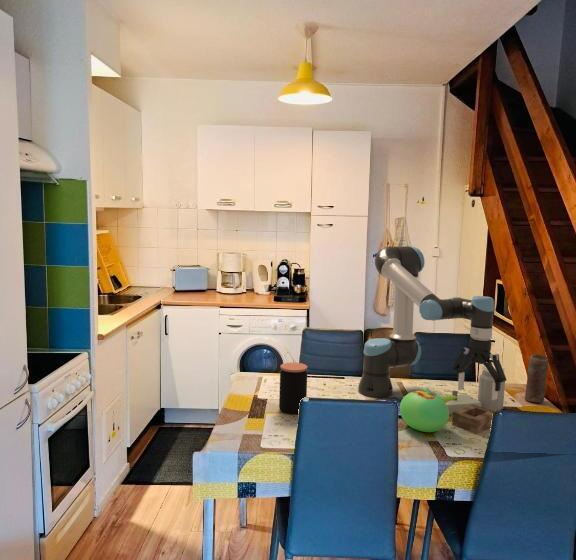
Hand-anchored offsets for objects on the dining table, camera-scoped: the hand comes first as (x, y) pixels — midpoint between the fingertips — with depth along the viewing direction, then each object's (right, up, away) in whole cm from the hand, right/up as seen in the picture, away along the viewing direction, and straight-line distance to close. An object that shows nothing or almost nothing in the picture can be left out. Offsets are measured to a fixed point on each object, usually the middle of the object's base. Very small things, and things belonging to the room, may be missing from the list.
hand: (477, 394), depth 186 cm
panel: (-3, -10, +17) cm, 20 cm away
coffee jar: (-69, -9, +11) cm, 70 cm away
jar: (+13, -11, +19) cm, 25 cm away
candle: (+36, -10, +29) cm, 47 cm away
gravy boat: (-21, -12, -4) cm, 24 cm away
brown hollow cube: (0, -12, +2) cm, 12 cm away
